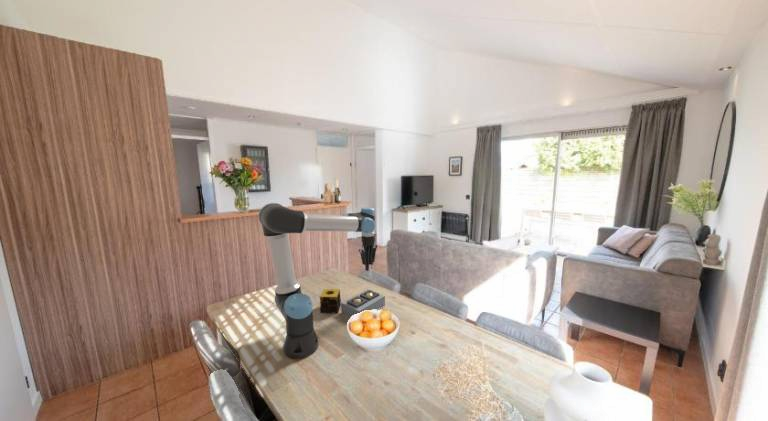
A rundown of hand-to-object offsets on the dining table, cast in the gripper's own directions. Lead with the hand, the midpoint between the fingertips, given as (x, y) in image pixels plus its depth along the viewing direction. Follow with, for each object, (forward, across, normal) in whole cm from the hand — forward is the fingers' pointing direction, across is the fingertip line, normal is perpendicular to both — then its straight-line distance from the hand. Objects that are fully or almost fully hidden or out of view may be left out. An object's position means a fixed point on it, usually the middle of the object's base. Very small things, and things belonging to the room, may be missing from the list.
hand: (368, 275), depth 156 cm
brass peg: (+19, 0, 0) cm, 19 cm away
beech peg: (+19, -10, 0) cm, 21 cm away
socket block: (+19, -4, 0) cm, 19 cm away
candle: (+19, -16, +15) cm, 29 cm away
